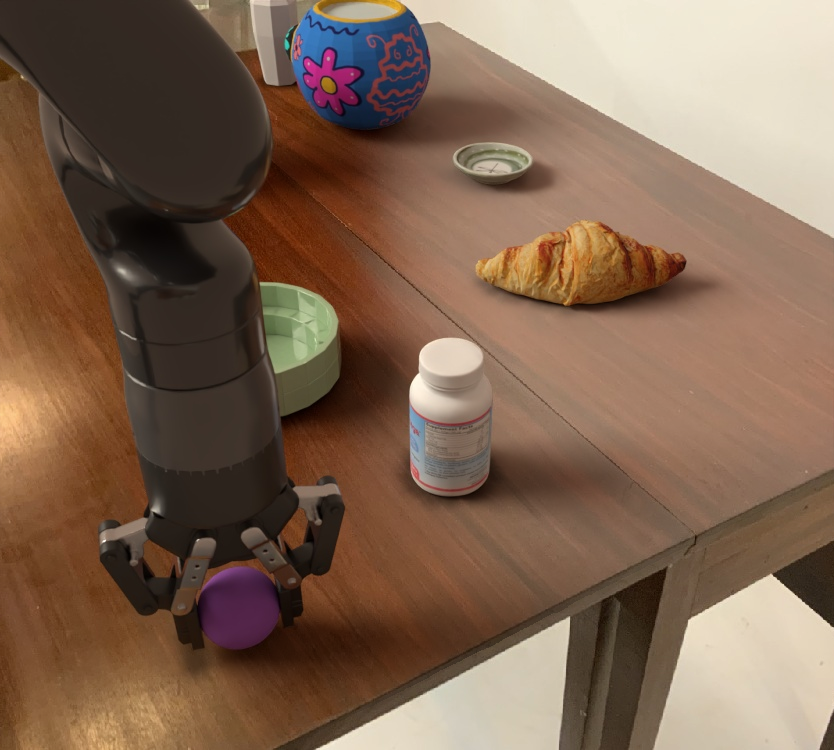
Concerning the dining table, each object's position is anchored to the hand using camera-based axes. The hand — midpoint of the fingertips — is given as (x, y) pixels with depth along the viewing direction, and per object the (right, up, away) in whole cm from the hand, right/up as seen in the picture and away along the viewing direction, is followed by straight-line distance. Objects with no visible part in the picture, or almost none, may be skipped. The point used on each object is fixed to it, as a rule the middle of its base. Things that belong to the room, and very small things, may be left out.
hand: (242, 626), depth 61 cm
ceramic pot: (-2, +50, +68) cm, 84 cm away
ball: (0, +2, -1) cm, 2 cm away
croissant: (+24, +25, +37) cm, 51 cm away
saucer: (+15, +40, +57) cm, 71 cm away
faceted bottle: (-16, +58, +79) cm, 100 cm away
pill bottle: (+12, +8, +14) cm, 20 cm away
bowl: (-5, +16, +23) cm, 28 cm away
